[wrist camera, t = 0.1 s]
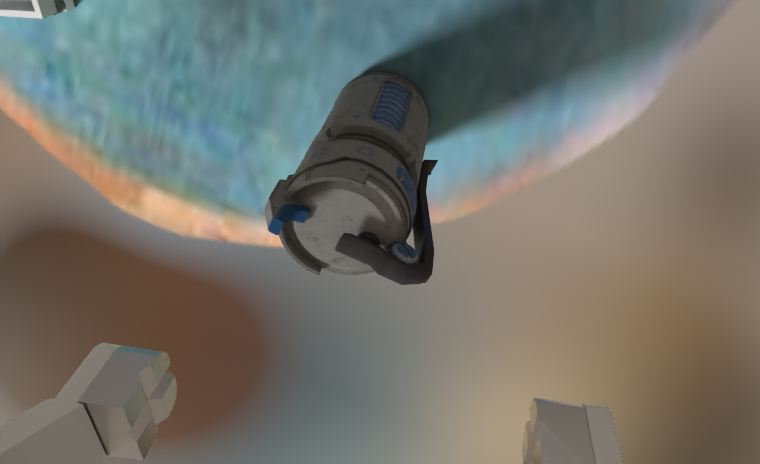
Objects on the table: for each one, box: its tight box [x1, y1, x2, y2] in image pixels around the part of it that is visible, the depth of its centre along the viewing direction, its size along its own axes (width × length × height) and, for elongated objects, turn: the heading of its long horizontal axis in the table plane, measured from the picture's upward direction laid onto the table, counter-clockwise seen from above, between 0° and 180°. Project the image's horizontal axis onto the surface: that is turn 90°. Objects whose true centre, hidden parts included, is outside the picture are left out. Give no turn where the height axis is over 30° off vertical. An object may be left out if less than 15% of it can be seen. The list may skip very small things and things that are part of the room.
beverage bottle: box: [265, 72, 438, 285], centre depth 50 cm, size 10×13×25 cm
